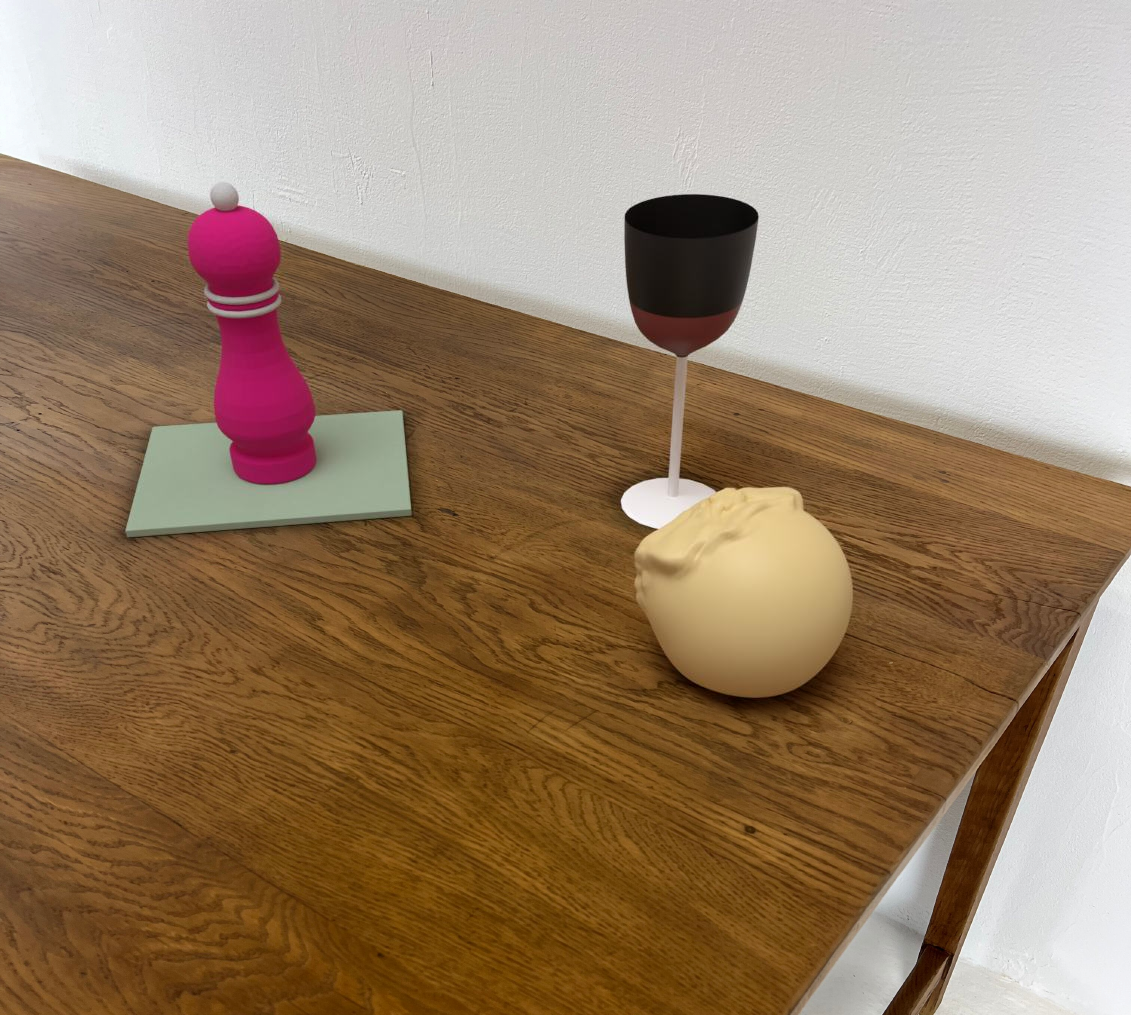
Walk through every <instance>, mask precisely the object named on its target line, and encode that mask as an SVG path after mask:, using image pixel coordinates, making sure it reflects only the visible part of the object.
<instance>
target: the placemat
mask: <svg viewBox="0 0 1131 1015" xmlns="http://www.w3.org/2000/svg"><path fill="white" fill-rule="evenodd" d="M308 433H309V434H310V435H311V436H312V438H313V440H314V446H315V452H316V459H317V460H316V464H315V466H314V468H313V469H312V470H311V471H310V472H309V473H308V474H306V475H304V476H303V477H301V478H298V479H296V480H293V481H289V482H285V483H279V484H256V483H252V482H248V481H246V480H244V479H242V478H240V477H239V476H238V475H237V474H236V473H235V472H234V470H233V465H232V461H231V456H230V451H229V448H230V445H231V443H232V442H233V441H232V440H230V439H229V438H227V437H226V436H225V435H224V434H223V433H222V432H221V430H220V429H219V428H218V425H217V423H216V422H203V423H202V422H201V423H189V424H187V423H186V424H175V425H174V424H173V425H158V426H152V428H151V432H150V436H149V439H148V443H147V448H146V451H145V455H144V458H143V463H142V466H141V470H140V472H139V473H140V475H139V478H138V481H137V484H136V489H135V493H134V497H133V500H132V504H131V508H130V512H129V516H128V519H127V523H126V526H125V531H124V532H125V534H126V537H127V538H139V537H153V536H165V535H166V536H167V535H180V534H193V533H202V532H204V533H206V532H218V531H230V530H246V529H258V528H269V527H271V528H272V527H282V526H296V525H310V524H311V525H312V524H321V523H322V524H323V523H335V522H336V523H337V522H347V521H362V520H374V519H388V518H400V517H401V518H402V517H411V516H413V512H412V503H411V502H412V501H411V489H410V479H409V478H410V477H409V467H408V458H407V457H408V456H407V446H406V435H405V425H404V413H403V410H402V409H399V410H385V411H368V412H354V413H353V412H352V413H338V414H324V415H322V414H321V415H315V419H314V422H313V424H312V426H311V428H310V429H309V430H308Z"/></svg>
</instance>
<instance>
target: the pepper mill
mask: <svg viewBox="0 0 1131 1015" xmlns="http://www.w3.org/2000/svg"><path fill="white" fill-rule="evenodd" d="M209 196H210V201H211V204H212V205H213V207H212V208H209V209H207V210H205V211H204V212H202V213H201V214H199V215H198V216H197V217H196V218H195V220H194V221H193V222H192V224H191V226H190V228H189V230H188V235H187V253H188V257H189V261H190V264H191V266H192V268H193V269H194V271H195V272H196V273H197V275H198V276H199V277H200V278H201V279H202V280H204V281H205V282H206V283H207V284H206V285H205V286H204V289H203V294H204V295H205V297H206V298H207V301H206V307H207V308H208V311H210V313H212V314H213V315H215V318H216V320H217V324H218V327H219V333H220V341H221V351H220V352H221V353H220V354H221V356H220V362H219V364H220V365H219V368H218V373H217V377H216V382H215V387H214V393H213V394H214V395H213V410H214V411H213V412H214V418H215V423H217V425H218V428H219V429H220V430H221V432H222V433H223V434H224V435H225V436H226V437H227V438H229V439H230V440H232V441H233V442H232V443H231V445H230V448H229V451H230V456H231V461H232V465H233V470H234V472H235V473H236V474H237V475H238V476H239V477H240V478H242V479H244V480H246V481H248V482H252V483H256V484H279V483H285V482H289V481H293V480H296V479H298V478H301V477H303V476H304V475H306V474H308V473H309V472H310V471H311V470H312V469H313V468H314V466H315V464H316V460H317V459H316V452H315V446H314V440H313V438H312V436H311V435H310V434H309V433H308V430H309V429H310V428H311V426H312V424H313V422H314V419H315V416H316V405H315V401H314V397H313V394H312V391H311V389H310V387H309V385H308V383H307V380H306V379H305V377H304V376H303V374H302V372H301V371H300V370H299V368H298V367H297V365H296V364H295V362H294V361H293V359H292V357H291V355H290V354H289V352H288V350H287V347H286V345H285V343H284V340H283V336H282V332H281V329H280V328H281V327H280V325H279V319H278V318H279V317H278V307H280V305H281V304H282V296H281V294H280V292H279V290H280V283H279V281H278V279H276V278H275V277H274V275H275V273H276V272H277V270H278V269H279V268H280V267H279V266H280V264H281V259H282V251H281V244H280V239H279V237H278V234H277V232H276V230H275V228H274V227H273V225H272V223H271V222H270V221H269V220H268V218H266V217H265V216H264V215H263V214H261V213H260V212H259V211H257V210H255V209H254V208H253V209H252V208H250V207H247V206H243V205H239V201H240V198H239V193H238V191H237V189H236V188H235V187H234V185H232V183H229V182H227V181H220V182H217V183H215V184H214V185H213V187H212V188H211V189H210V194H209Z"/></svg>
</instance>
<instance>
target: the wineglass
mask: <svg viewBox="0 0 1131 1015" xmlns="http://www.w3.org/2000/svg"><path fill="white" fill-rule="evenodd" d="M759 218H760V216H759V211H757V209H756V208H755V207H754V206H752V205H750V204H749V203H747V202H744V201H741V200H739V199H735V198H732V197H727V196H722V195H715V194H701V193H699V194H698V193H689V194H688V193H685V194H684V193H683V194H672V195H663V196H658V197H654V198H650V199H646V200H643V201H640V202H637V203H636V204H634V205H632V206H631V207H629V208H628V209H627V210H626V212H624V222H623V223H624V227H623V228H624V230H623V231H624V232H623V233H624V237H623V240H624V265H625V266H624V268H625V279H626V287H627V289H626V290H627V295H628V302H629V306H630V310H631V314H632V317H633V320H634V323H635V325H636V327H637V329H638V330H639V332H640V334H641V335H642V336H644V337H645V339H647V340H648V341H649V342H650V343H651V344H654V345H655V346H656V347H658V348H660V349H663V350H665V351H667V352H669V353H672V354H674V355H675V356H676V358H675V371H674V386H673V403H672V405H673V406H672V418H671V431H670V432H671V434H670V447H669V448H670V449H669V462H668V463H669V464H668V477H657V478H652V479H648V480H647V479H646V480H643V481H641V482H638V483H636V484H634V485H632V486H630V487H629V488H628V489H627V490H626V491H624V493H623V495H622V497H621V499H620V504H621V509H622V510H623V512H624V513H625V514H626V516H627V517H629V518H630V519H632V520H633V521H635V522H637V523H638V524H640V525H643V526H646V527H650V528H653V529H656V530H658V529H659V528H661V527H663V526H664V525H666V524H668V523H669V522H671V521H672V520H674V519H675V518H676V517H677V516H678V515H679V514H680V513H682V512H683V511H685V510H687V509H689V508H690V507H692V506H693V505H694V504H696V503H699V502H700V501H701V500H703V499H706V498H709V497H710V495H713V494H715V493H716V492H717V491H715V489H713V488H711V487H710V486H708V485H706V484H704V483H701V482H698V481H695V480H691V479H688V478H680V471H681V458H682V457H681V456H682V444H683V442H682V441H683V431H684V430H683V428H684V415H685V412H684V411H685V402H686V400H685V399H686V387H687V386H686V385H687V372H688V357H689V355H691V354H692V353H695V352H697V351H699V350H701V349H703V348H706V347H707V346H709V345H711V344H713V343H714V342H716V341H717V340H719V339H720V338H722V336H723V335H724V334H726V333H727V332H728V331H729V329H730V328H731V326H732V325H733V324H734V322H735V320H736V319H737V317H738V314H739V313H740V309H741V307H742V304H743V301H744V298H745V295H746V291H747V287H748V283H749V279H750V274H751V269H752V264H753V263H752V262H753V257H754V252H755V246H756V240H757V233H758V227H759V226H758V225H759Z"/></svg>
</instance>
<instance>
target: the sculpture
mask: <svg viewBox="0 0 1131 1015" xmlns="http://www.w3.org/2000/svg"><path fill="white" fill-rule="evenodd" d="M804 508H805V507H804V499H803V496H802V494H801V492H800V491H799V490H797V489H794V488H792V487H788V486H774V487H751V486H749V487H748V486H747V487H742V488H739V489H736V488H734V487H725V488H723V489H720V490H719V491H716V493H715V494H713V495H710V497H709V498H706V499H703V500H701V501H700V502H699V503H696V504H694V505H693V506H692V507H690V508H689V509H687V510H685V511H683V512H682V513H680V514H679V515H678V516H677V517H676V518H675V519H674V520H672V521H671V522H669V523H668V524H666V525H664V526H663V527H661V528H659V529H656V530H654V531H652V532H651V533H649V534H648V535H647V536H645V537H644V538H643V539H642V540H641V541H640V543H639V545H638V546H637V548H636V549H635V551H634V556H633V559H634V567H635V571H636V576H635V579H634V583H633V585H634V589H635V591H636V593H635V600H636V603H637V604H638V606H639V608H640V609H641V610H642V611H643V613H644V614H645V616H646V617H647V620H648V622H649V625H650V627H651V629H652V632H653V634H654V636H655V637H656V640H657V642H658V644H659V646H660V647H661V649H662V651H663V653H664V655H665V656H666V658H667V659H668V660H669V662H670V663H671V664H672V666H674V667H675V669H676V670H677V671H678V672H679V673H680V674H681V675H682V676H684V677H685V678H686V679H688V680H689V681H690V682H692V683H694V684H696V685H698V686H700V687H701V688H702V687H703V688H705V689H707V690H710V691H713V692H717V693H720V694H724V695H728V696H731V697H732V696H734V697H739V698H755V699H756V698H770V697H776V696H779V695H783V694H787V693H789V692H792V691H794V690H796V689H799V688H800V687H801V686H803V685H805V684H806V683H807V682H809V681H810V680H811V679H813V678H814V677H815V676H816V675H818V673H820V671H821V670H822V669H823V668H824V667H825V666H826V665H827V664H828V663H829V662H830V660H831V659H832V657H833V656H834V654H835V653H836V651H837V650H838V648H839V647H840V645H841V643H842V641H843V639H844V637H845V634H846V632H847V629H848V626H849V623H850V621H851V616H852V611H853V602H854V589H853V588H854V587H853V579H852V573H851V570H850V566H849V564H848V560H847V558H846V555H845V553H844V550H843V549H842V547H841V546H840V544H839V542H838V540H837V539H836V538H835V537H834V535H833V534H832V533H831V532H830V530H829V529H828V528H827V527H826V526H825V525H824V524H823V523H821V522H820V520H818V519H817V518H816V517H814V516H812V515H811V514H810V513H808V512H806V511H805V509H804Z"/></svg>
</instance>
